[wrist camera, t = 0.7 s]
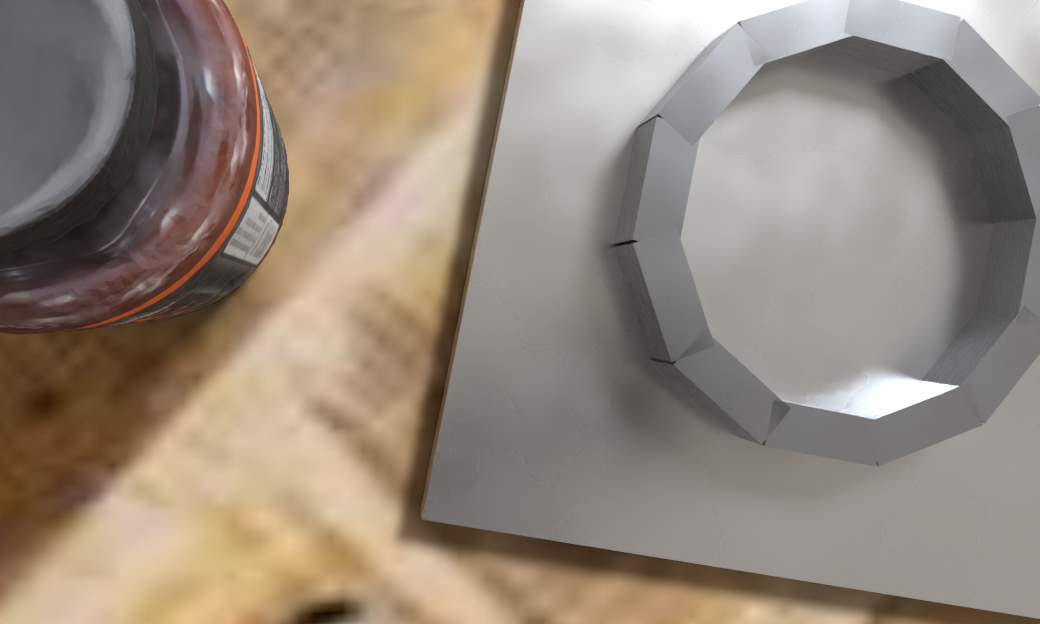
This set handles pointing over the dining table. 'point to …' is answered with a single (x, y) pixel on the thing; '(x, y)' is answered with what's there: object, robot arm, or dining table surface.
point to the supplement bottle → (130, 162)
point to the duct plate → (761, 294)
